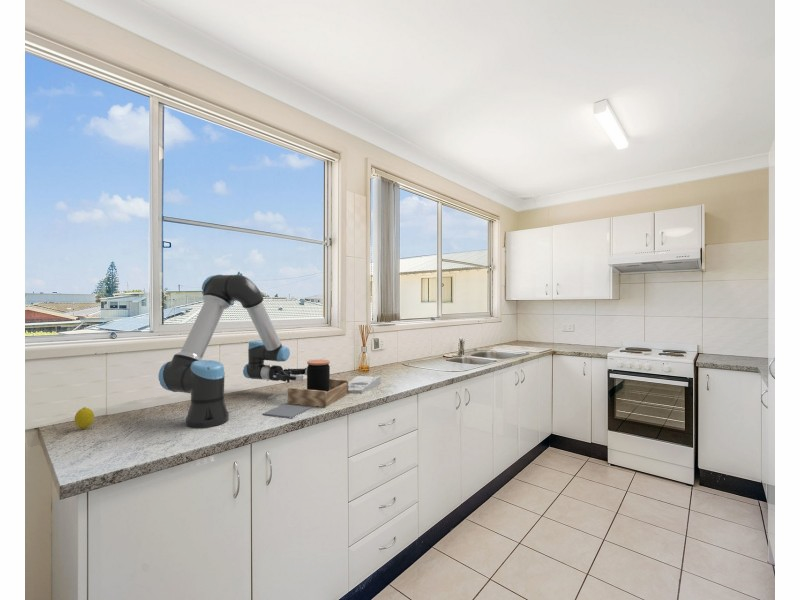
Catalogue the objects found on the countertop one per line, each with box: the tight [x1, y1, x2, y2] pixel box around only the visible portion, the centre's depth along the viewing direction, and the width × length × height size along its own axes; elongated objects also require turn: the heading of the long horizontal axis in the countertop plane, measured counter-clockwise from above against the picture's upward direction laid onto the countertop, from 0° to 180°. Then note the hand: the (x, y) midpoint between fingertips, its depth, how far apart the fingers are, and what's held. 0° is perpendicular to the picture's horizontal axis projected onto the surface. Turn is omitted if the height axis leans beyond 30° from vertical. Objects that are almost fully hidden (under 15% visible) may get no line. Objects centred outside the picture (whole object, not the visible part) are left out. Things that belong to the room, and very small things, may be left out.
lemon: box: [74, 406, 95, 430], centre depth 141 cm, size 6×6×8 cm
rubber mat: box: [262, 403, 311, 419], centre depth 164 cm, size 14×14×1 cm
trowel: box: [348, 375, 382, 394], centre depth 206 cm, size 28×16×5 cm, turn 137°
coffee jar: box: [306, 359, 331, 392], centre depth 185 cm, size 11×11×18 cm
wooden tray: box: [287, 378, 349, 408], centre depth 185 cm, size 19×24×7 cm
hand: (310, 375), depth 187 cm, fingers open, 13 cm apart
